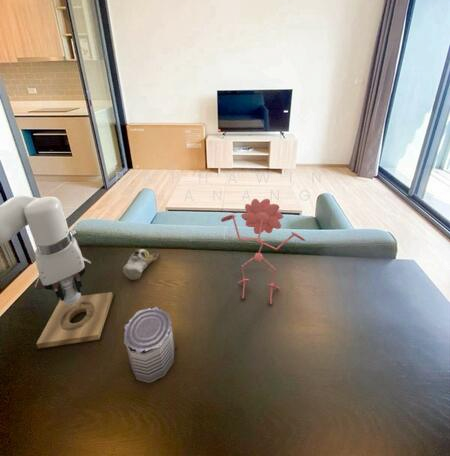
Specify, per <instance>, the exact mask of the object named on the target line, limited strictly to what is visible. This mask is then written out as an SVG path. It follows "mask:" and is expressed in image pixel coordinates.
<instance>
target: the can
mask: <svg viewBox="0 0 450 456" xmlns="http://www.w3.org/2000/svg"><path fill="white" fill-rule="evenodd" d="M170 314H171V313H170V312H167V311H166V310H163V309H161V308H159V307H158V306H153V307H149V308H145V309H141V310H138V311H136V312H135V314H134V315H133V316H132V317H131V318H130V319H129V320H128V321H127V322H126V324H124V332H123V333H124V334H123V344H124V345H125V346H126V351H127V355H128V359H129V364H130V368H131V370H132V372H133V374H134V376H135V378H136V380H138V381H141V382H145V383H149V384H151V383H153V382H155V381H157V380H158V379H161V378H163V377H165V375H166V374H167V372H168V371H169V370H170V368H171V366H172V365H173V364H174V358H175V341H174V333H173V327H172V319H171V315H170Z"/></svg>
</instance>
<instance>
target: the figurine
mask: <svg viewBox="0 0 450 456" xmlns="http://www.w3.org/2000/svg"><path fill="white" fill-rule="evenodd" d="M244 205H245V206H244V209H245V212H243V213H241V215H240V217H241V218H242V219H243V220H244V221H245V226H246V227H247V228H253V232H254V234H256V235H258V236H257V238H241V236H240V232H239V229H238V227H237V222H236V219H235V217H236V215H235V214H234V213H232V214H228V215H225V216H223V217H221V218H220V221H221V222H223V223H224V222H227V221H230V220H232V221H233V224H234V225H233V226H234V228H235V231H236V236H237V238H238V241H239V242H240V241H241V242H242V241H245V242H246V241H252V242H253V241H256V243H260V244H261V245H260V247H259V250H258V252H256V253H255V254H254V256H253V257H252V258H250V259H249V260H247V261H246V262H244V263H243V264H241V268H240V269H238V270H237V272H239V271H240V270H241V272H242V278H243V279H242V280H240V281H238V282H237V285H239V286H240V285H243V286H242V295H241V296H242V297H241V299H245V290H246V288H245V287H246V283H247V282H249V280H250V279H248V278H245V273H244V269H245V266H246V265H247V264H249V263H250V262H251V261H253V260H255V262H257V263H260V262H262V261H264V262H266V263H267V265H269V266H270V267H271V268H272V269H273V270H274V271H273V276H272V282H271V283H267V286H268V287H270V295H269V296H270V298H269V304H270V305H272V304H273V303H272V302H273V291H274V290H273V289H275V290H281V287H280V286H277V285H275V284H274V281H275V277H276V271H277V269H276V268H275V267H274V266H273V265H272V264H271V263H269V262H268V260H266V259H265V258H264V255H263V254H262V253H261V252H262V251H261V250H262V248H263V246H264V245H265V246H267V247H269V248H271V249H273V250H275V251H277V250H279V249H280V248H281V247H282V246H284V245H285V244H286V243H287V242H289V241H290V240H291V239H292V238H293V237H296V238H298V239H299V240H301V241H303V242H306V239H305V238H304V237H302V236H301V235H299V234H298V233H296V232H293V231H292V232H291V235H289V236H288V237H287V239H285V240H284V241H282V243H280V244H279V245H278V246H277V247H275V246H272V245H271V244H269V243H266V242H265V239H260V238H261V235H262V233H263V232H265V233H266V234H271V233H272V232H273V229H277V230H279V229H281V228H282V223H281V222H280V220H281V219H283V218H284V215H283V214H282V212H280V211H279V209H280V204H279V205H278V204H277V203H271V199H269V198H264V199H262V200H261V201H260V200H258V199H257V198H254V199H252V201H251V202H250V203H246V204H244ZM248 268H251V266H247V269H248ZM256 268H258V269H259V268H260V266H258V265H257V266H255V269H256ZM261 269H264V268H263V267H261ZM265 270H266V271H269V272H270V270H268V269H266V268H265ZM235 273H236V271H234V272H233V274H235Z"/></svg>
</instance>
